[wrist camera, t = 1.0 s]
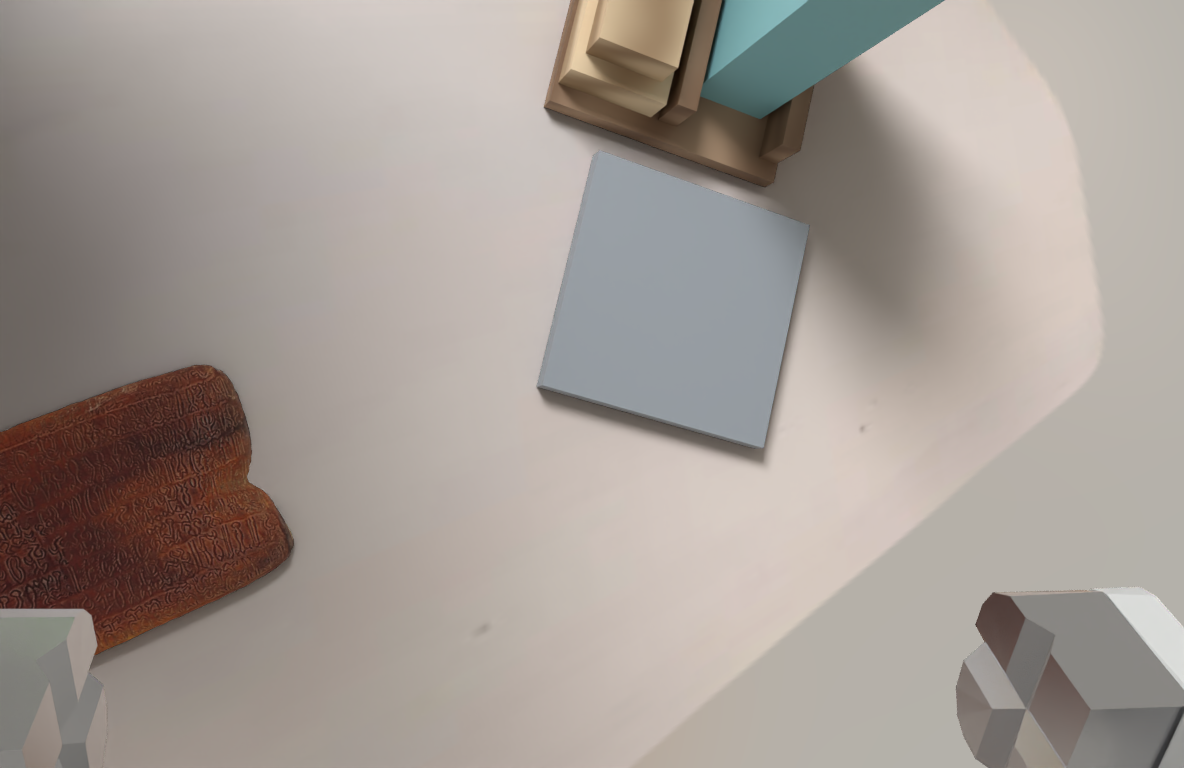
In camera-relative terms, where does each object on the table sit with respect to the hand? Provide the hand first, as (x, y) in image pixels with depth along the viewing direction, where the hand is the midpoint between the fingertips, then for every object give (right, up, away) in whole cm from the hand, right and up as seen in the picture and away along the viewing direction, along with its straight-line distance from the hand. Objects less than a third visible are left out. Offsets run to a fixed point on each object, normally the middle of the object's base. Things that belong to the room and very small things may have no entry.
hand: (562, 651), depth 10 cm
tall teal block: (+8, +19, +47) cm, 52 cm away
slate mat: (+4, +6, +46) cm, 47 cm away
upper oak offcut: (+3, +21, +44) cm, 48 cm away
